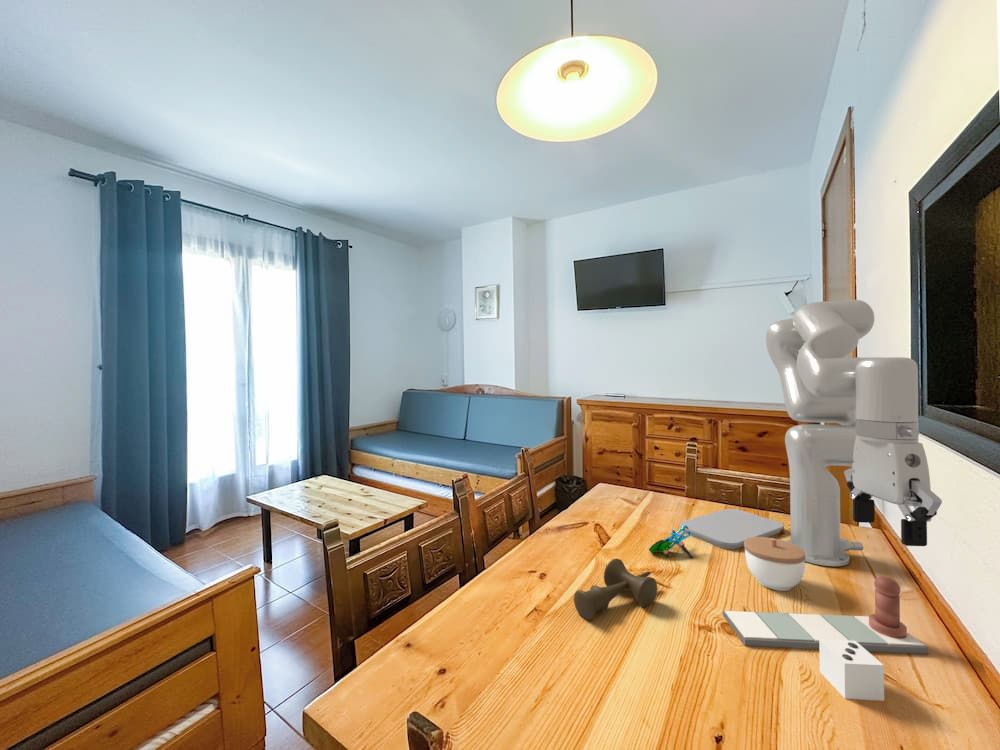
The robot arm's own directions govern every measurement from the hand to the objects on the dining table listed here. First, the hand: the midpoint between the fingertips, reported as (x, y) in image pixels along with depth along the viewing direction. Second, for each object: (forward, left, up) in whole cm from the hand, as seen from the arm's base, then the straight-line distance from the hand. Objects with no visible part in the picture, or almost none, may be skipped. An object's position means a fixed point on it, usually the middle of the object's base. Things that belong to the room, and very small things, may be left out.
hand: (887, 532), depth 67 cm
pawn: (0, 0, -17) cm, 17 cm away
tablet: (+5, -45, -18) cm, 49 cm away
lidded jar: (+9, -17, -18) cm, 26 cm away
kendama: (+43, -8, -18) cm, 47 cm away
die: (+14, +11, -18) cm, 25 cm away
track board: (+11, 0, -18) cm, 21 cm away
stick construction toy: (+25, -29, -18) cm, 43 cm away
